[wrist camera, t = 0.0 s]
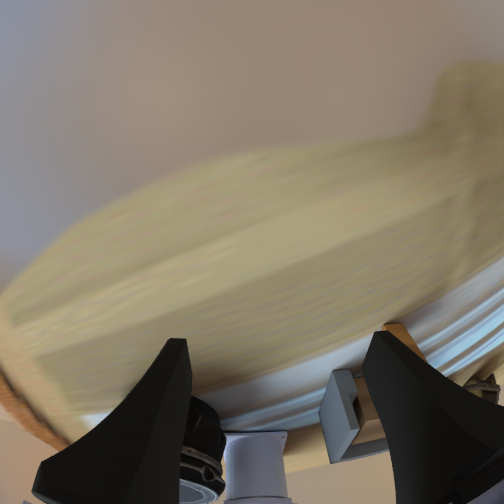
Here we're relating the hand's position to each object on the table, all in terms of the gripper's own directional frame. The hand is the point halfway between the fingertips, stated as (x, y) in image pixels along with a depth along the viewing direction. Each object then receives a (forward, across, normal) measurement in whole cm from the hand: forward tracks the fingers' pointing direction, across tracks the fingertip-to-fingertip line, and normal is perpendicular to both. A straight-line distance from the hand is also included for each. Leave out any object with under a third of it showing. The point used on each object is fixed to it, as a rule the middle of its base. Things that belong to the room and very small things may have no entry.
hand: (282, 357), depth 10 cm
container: (+10, +10, +21) cm, 25 cm away
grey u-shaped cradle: (+10, -12, +17) cm, 23 cm away
